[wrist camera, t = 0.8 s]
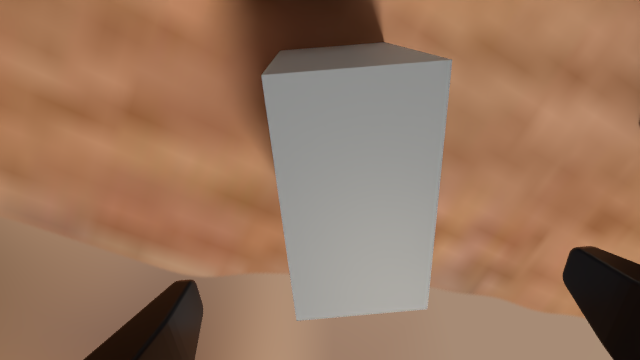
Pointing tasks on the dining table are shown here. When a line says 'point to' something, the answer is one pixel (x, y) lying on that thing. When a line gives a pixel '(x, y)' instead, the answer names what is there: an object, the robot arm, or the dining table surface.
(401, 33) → the dining table surface
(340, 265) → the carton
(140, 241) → the dining table surface
